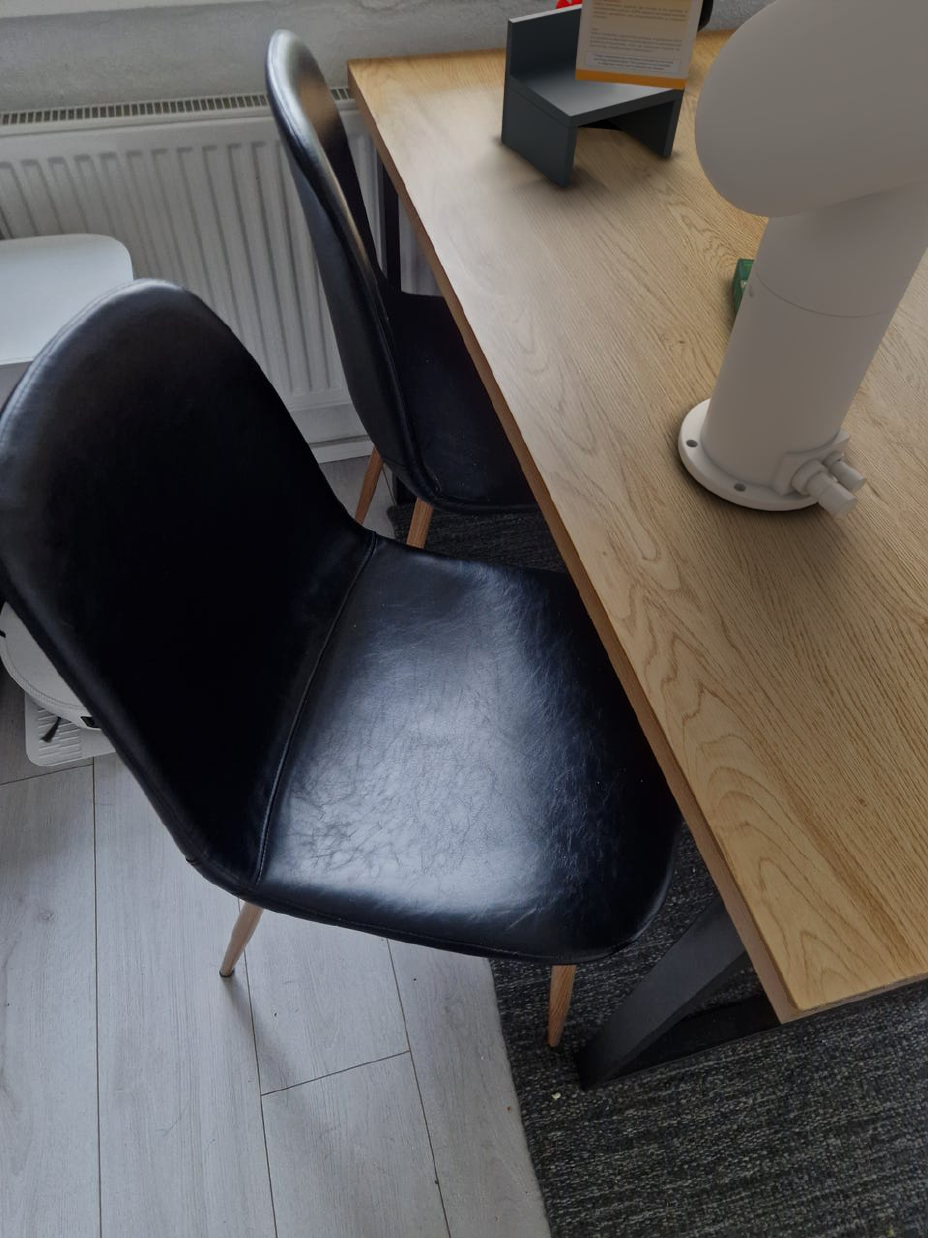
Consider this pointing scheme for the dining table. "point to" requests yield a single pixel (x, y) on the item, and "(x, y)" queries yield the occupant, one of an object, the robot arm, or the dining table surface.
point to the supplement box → (637, 41)
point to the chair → (571, 97)
